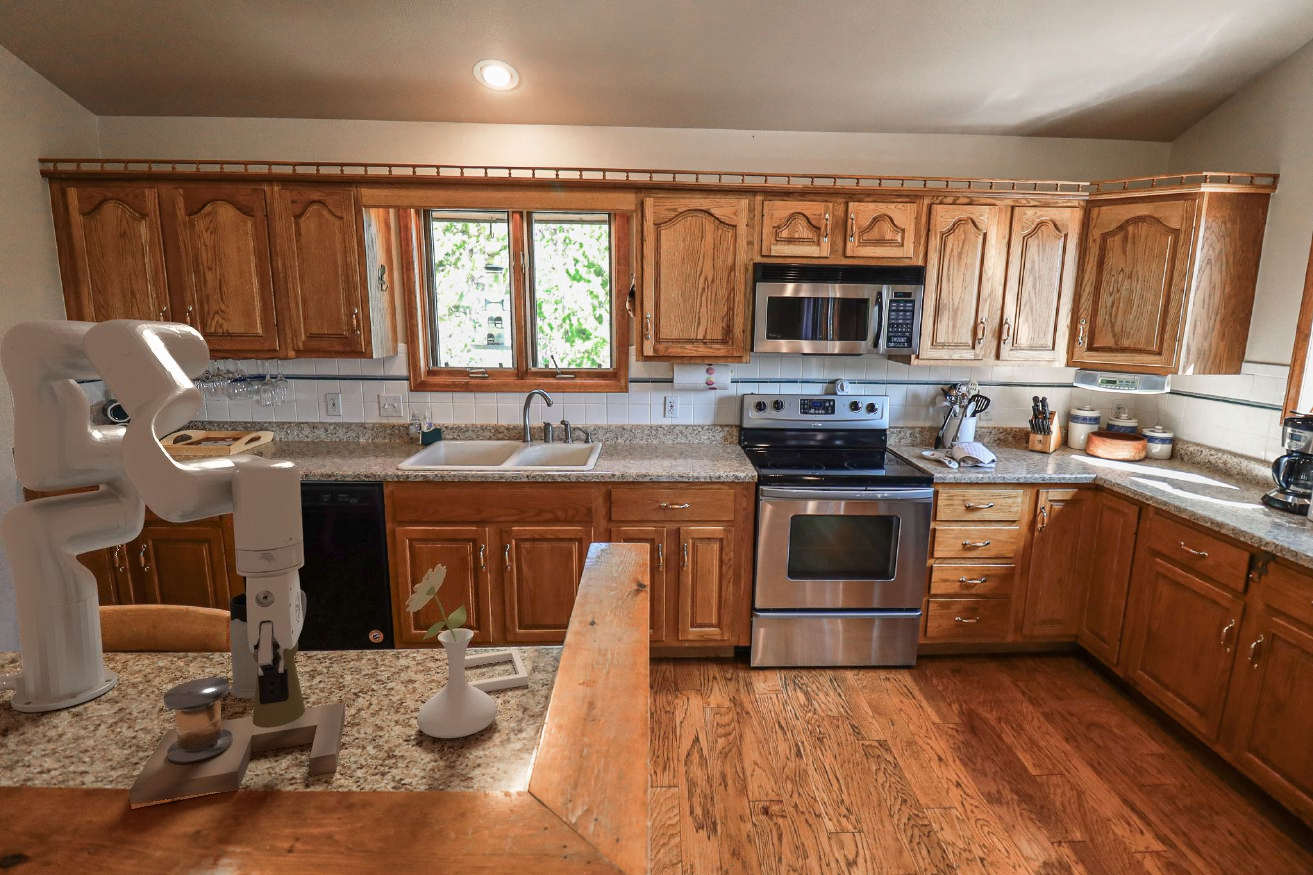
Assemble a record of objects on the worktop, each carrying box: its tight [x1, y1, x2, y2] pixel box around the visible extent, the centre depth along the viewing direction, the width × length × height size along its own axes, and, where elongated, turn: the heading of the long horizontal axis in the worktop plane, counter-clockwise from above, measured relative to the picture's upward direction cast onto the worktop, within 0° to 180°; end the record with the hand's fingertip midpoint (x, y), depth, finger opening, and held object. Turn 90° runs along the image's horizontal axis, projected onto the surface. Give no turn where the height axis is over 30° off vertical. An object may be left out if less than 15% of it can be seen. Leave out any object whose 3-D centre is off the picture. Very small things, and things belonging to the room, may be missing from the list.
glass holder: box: [229, 589, 307, 699], centre depth 111 cm, size 9×14×15 cm, turn 164°
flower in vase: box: [405, 563, 498, 739], centre depth 96 cm, size 13×11×25 cm
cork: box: [252, 640, 306, 728], centre depth 87 cm, size 6×6×11 cm
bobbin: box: [163, 676, 233, 765], centre depth 86 cm, size 7×7×8 cm
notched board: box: [129, 702, 346, 805], centre depth 89 cm, size 22×14×2 cm, turn 111°
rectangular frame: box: [465, 648, 529, 693], centre depth 113 cm, size 11×11×2 cm
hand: (277, 691), depth 87 cm, fingers closed on cork, 4 cm apart
